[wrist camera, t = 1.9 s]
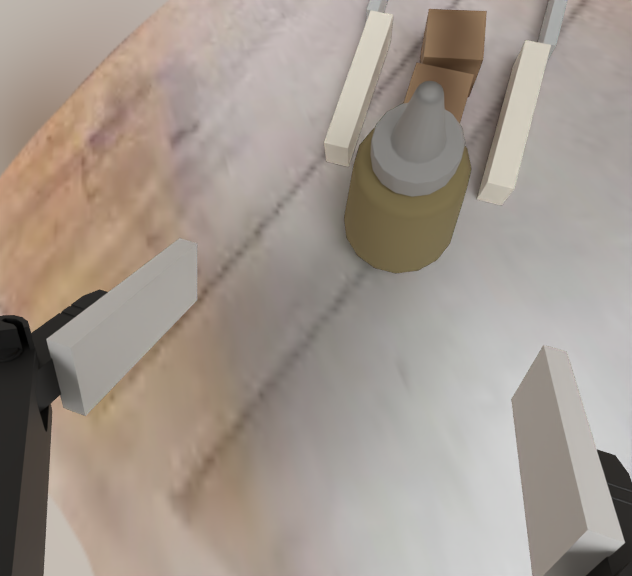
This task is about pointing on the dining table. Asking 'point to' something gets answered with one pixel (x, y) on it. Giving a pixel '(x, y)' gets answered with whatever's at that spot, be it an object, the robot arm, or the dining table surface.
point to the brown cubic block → (443, 86)
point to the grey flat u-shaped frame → (548, 29)
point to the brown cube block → (454, 40)
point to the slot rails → (509, 126)
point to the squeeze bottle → (408, 184)
